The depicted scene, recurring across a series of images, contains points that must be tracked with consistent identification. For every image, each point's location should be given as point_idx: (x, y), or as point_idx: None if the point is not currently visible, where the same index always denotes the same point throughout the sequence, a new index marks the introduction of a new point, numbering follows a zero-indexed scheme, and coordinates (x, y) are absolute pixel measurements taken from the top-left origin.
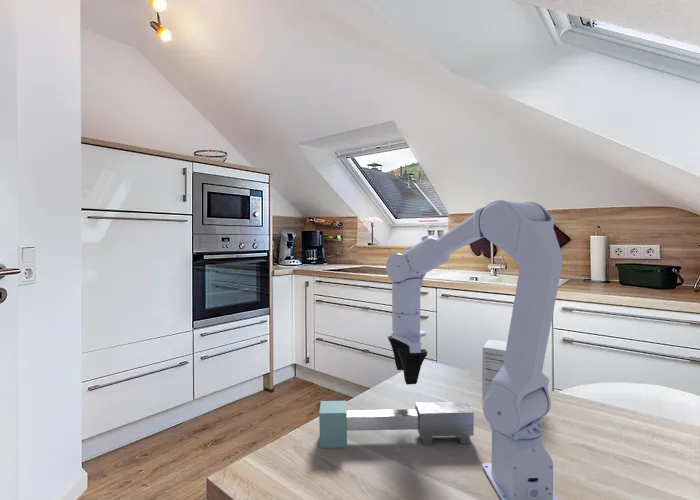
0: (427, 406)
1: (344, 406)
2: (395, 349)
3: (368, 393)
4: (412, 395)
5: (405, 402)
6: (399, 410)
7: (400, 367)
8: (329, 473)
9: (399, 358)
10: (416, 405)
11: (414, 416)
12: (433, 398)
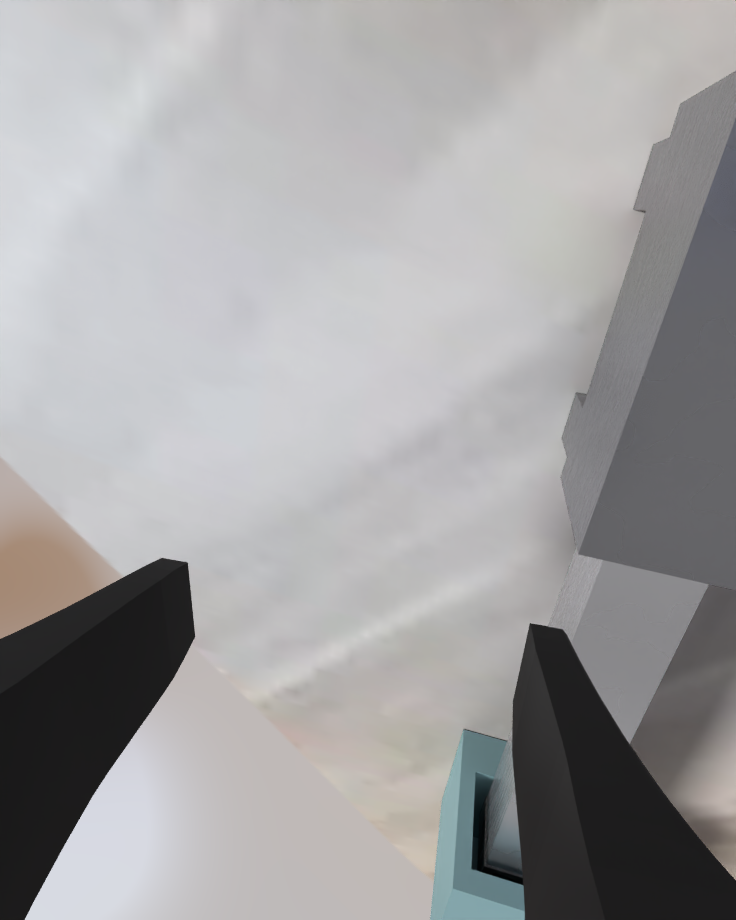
0: (684, 499)
1: (521, 916)
2: (46, 852)
3: (88, 531)
4: (103, 297)
5: (197, 377)
6: (586, 645)
7: (178, 631)
8: (731, 853)
9: (118, 709)
10: (624, 563)
11: (700, 589)
12: (145, 159)
